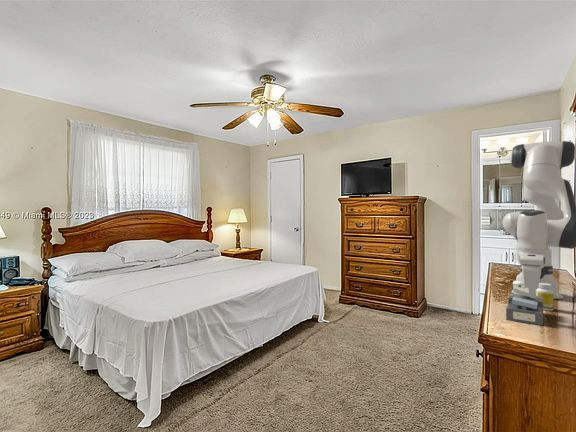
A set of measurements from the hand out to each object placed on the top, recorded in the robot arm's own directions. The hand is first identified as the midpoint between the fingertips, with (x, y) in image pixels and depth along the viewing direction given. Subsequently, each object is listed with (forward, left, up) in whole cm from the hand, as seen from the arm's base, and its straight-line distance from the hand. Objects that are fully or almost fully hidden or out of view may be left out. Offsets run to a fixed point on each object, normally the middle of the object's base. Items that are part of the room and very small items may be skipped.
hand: (532, 296), depth 111 cm
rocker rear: (-8, -2, 0) cm, 9 cm away
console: (-4, -2, -8) cm, 9 cm away
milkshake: (-27, -5, -8) cm, 29 cm away
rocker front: (+1, -2, -2) cm, 3 cm away
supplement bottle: (-21, +3, -8) cm, 23 cm away
